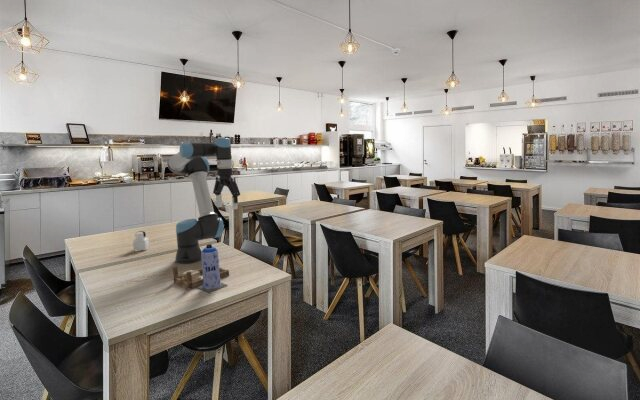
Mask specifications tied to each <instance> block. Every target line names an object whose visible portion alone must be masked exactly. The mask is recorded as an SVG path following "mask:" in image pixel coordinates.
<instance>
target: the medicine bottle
mask: <svg viewBox="0 0 640 400" xmlns="http://www.w3.org/2000/svg"><path fill="white" fill-rule="evenodd" d="M134 236H135V237H134V238H135V239H133V240H132V245H133V251H134V252H136V251H135V250H146V249H147V248H148V249H150V241H149V240H150V239H149V237H146V236H147V235H146V231H144V230H143V231H142V230H140V231H136V232H135V233H134ZM148 249H147V250H148ZM147 250H146V251H147Z"/></svg>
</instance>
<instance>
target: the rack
mask: <svg viewBox="0 0 640 400" xmlns="http://www.w3.org/2000/svg"><path fill="white" fill-rule="evenodd" d="M178 271H179V270H178V266H176V265H174V266H172V273H173V274H172V275H173V276H172V277H173V283H174V284H177V285H179V286H182V287H184V288H186V289H188V290H191V289H195V288H197V287H198V286H201V285H203V284H204V283H203V278H201V279H200V280H197V281H194V282H192V276H191V272H190V271H189V270H187V271H188V272H187V271H185V272H186V273H187V282H186V281H184V280H182V277H183V274H182V275H181V274H180V275H179V274H178ZM195 271H199V272H200V276H201V275H203V271H202V268H201V269H200V268H199V269H197V270H195ZM219 272H220V279H222V278H225V277H228V276H230V270H229V269H226V268H222V267H221V266H219Z"/></svg>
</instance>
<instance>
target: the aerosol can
mask: <svg viewBox="0 0 640 400" xmlns="http://www.w3.org/2000/svg"><path fill="white" fill-rule="evenodd" d="M201 258H202V259H201V269H202V271H203V274H202V279H203V283H204V286H203V287H204V288H205V289H215V288H218V287H220V286H221V283H222V282H221V278H220V272H219V267H220V261H219V259H220V258H219V251H218V249H217V248H216V246H215V247H214V246H213V244H212V243H210V244H206V247H205V248H203V249H201ZM220 282H221V283H220Z"/></svg>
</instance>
